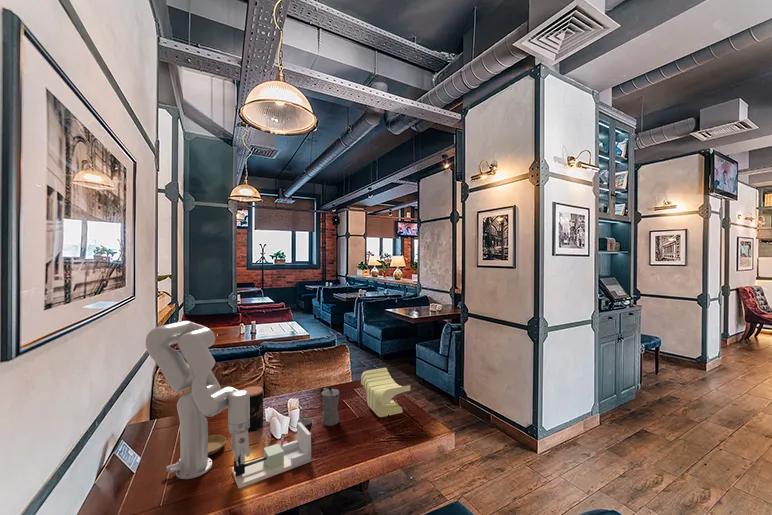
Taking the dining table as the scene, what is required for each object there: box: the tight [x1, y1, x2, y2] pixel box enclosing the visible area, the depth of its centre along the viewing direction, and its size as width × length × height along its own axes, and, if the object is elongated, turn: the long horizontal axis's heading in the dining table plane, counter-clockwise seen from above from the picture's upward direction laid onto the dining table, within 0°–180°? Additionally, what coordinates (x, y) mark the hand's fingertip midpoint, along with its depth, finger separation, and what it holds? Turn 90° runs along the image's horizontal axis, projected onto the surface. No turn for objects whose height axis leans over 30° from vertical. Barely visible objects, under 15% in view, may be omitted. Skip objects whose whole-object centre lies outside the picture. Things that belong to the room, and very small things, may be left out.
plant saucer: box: [208, 434, 227, 456], centre depth 147 cm, size 15×15×3 cm
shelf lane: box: [231, 422, 312, 489], centre depth 136 cm, size 28×12×12 cm, turn 125°
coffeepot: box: [319, 386, 340, 427], centre depth 173 cm, size 15×9×18 cm, turn 44°
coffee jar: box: [242, 385, 264, 432], centre depth 167 cm, size 11×11×18 cm
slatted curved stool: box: [360, 367, 411, 418], centre depth 185 cm, size 30×16×18 cm, turn 25°
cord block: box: [238, 443, 284, 469], centre depth 133 cm, size 17×7×5 cm, turn 125°
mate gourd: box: [296, 409, 313, 433], centre depth 158 cm, size 8×8×15 cm
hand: (239, 472), depth 129 cm, fingers closed on cord block, 2 cm apart
